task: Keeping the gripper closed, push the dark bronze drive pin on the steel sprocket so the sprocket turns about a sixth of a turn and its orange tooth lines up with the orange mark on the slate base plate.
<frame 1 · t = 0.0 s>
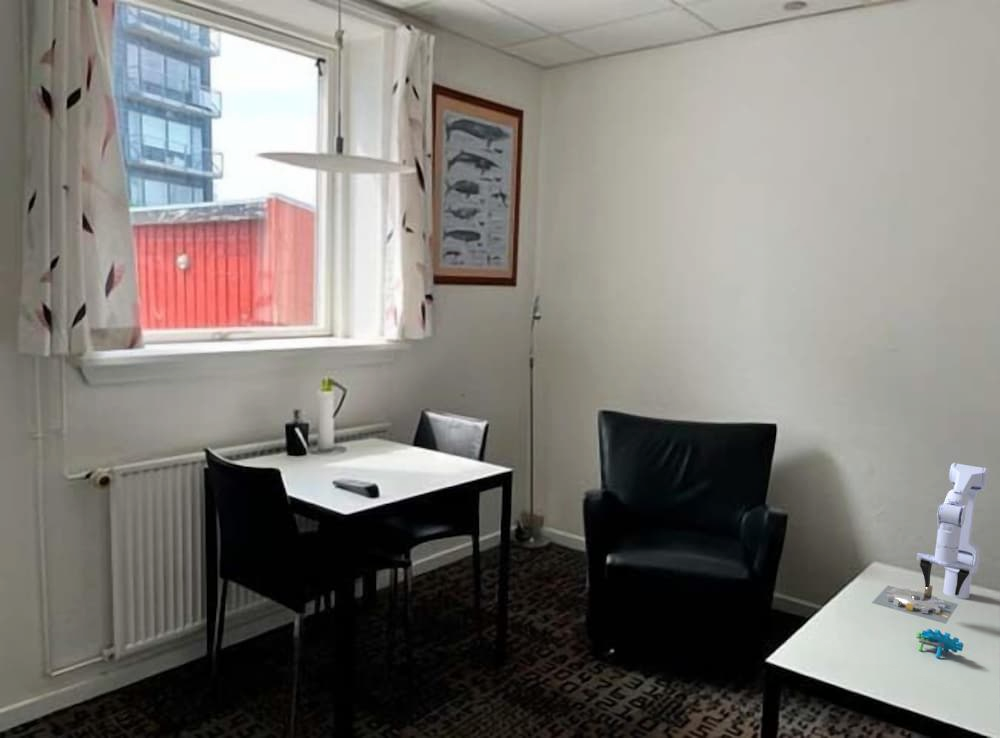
hand: (941, 590, 225), 10 cm above the table, tool pointing down, fingers open, 7 cm apart
blue toy dinosaur: (937, 654, 207), on the table
base plate: (914, 606, 238), on the table
sprocket: (915, 595, 237), point 4 cm above the table, hinge at 0.0°
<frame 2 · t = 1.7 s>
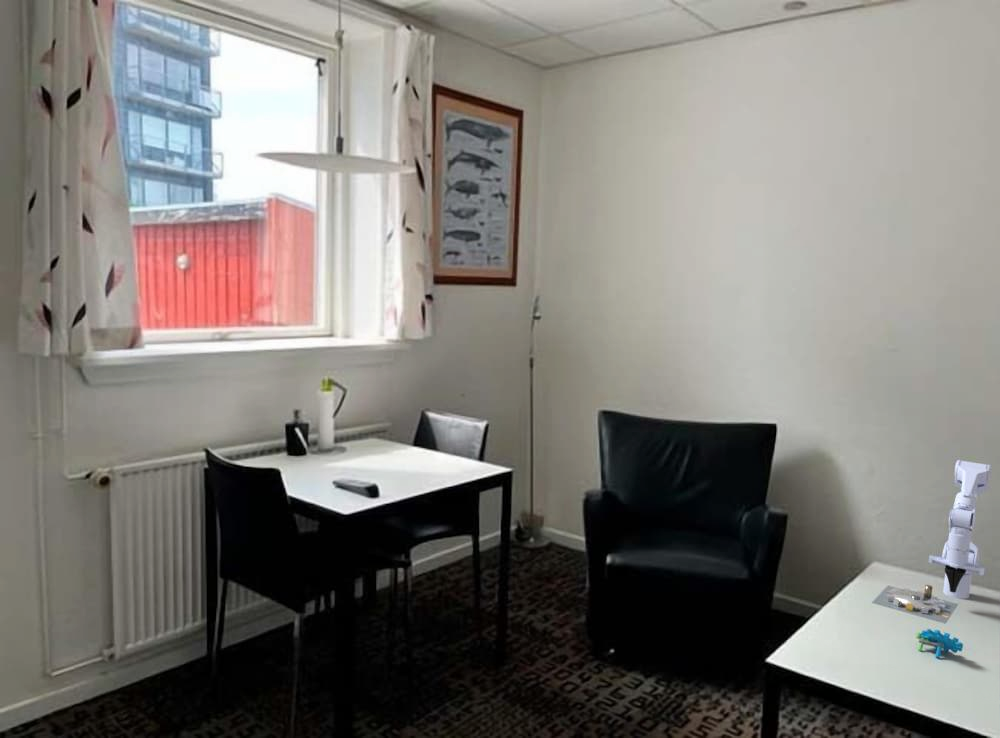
hand: (952, 591, 235), 6 cm above the table, tool pointing down, fingers closed
nothing on the table moved.
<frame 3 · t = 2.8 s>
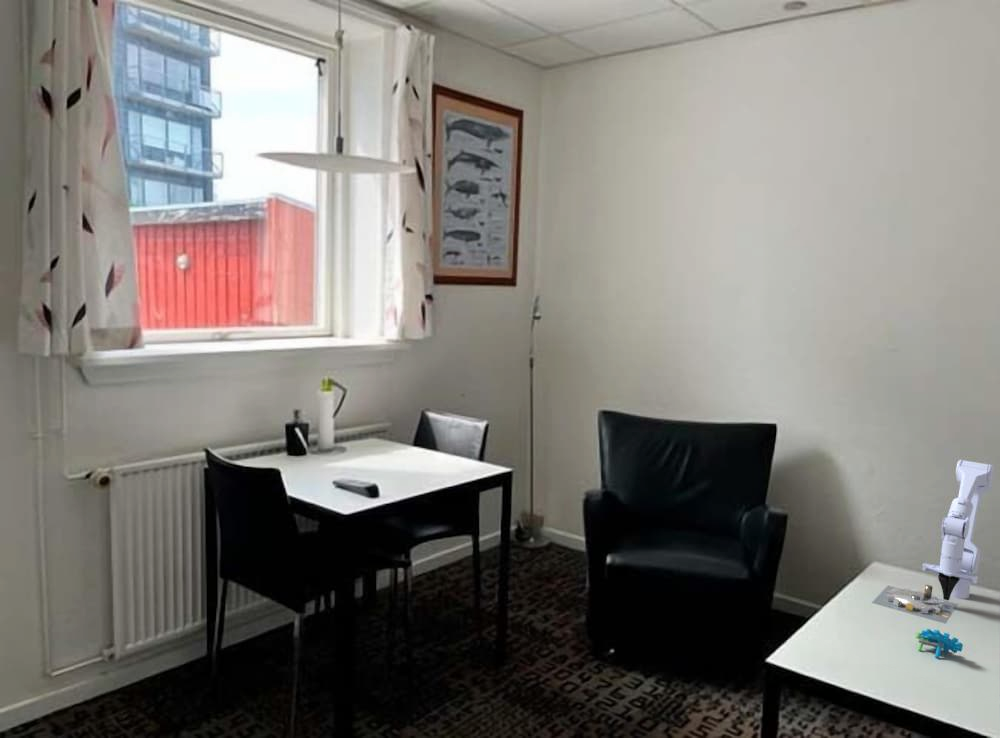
hand: (946, 599, 236), 3 cm above the table, tool pointing down, fingers closed
nothing on the table moved.
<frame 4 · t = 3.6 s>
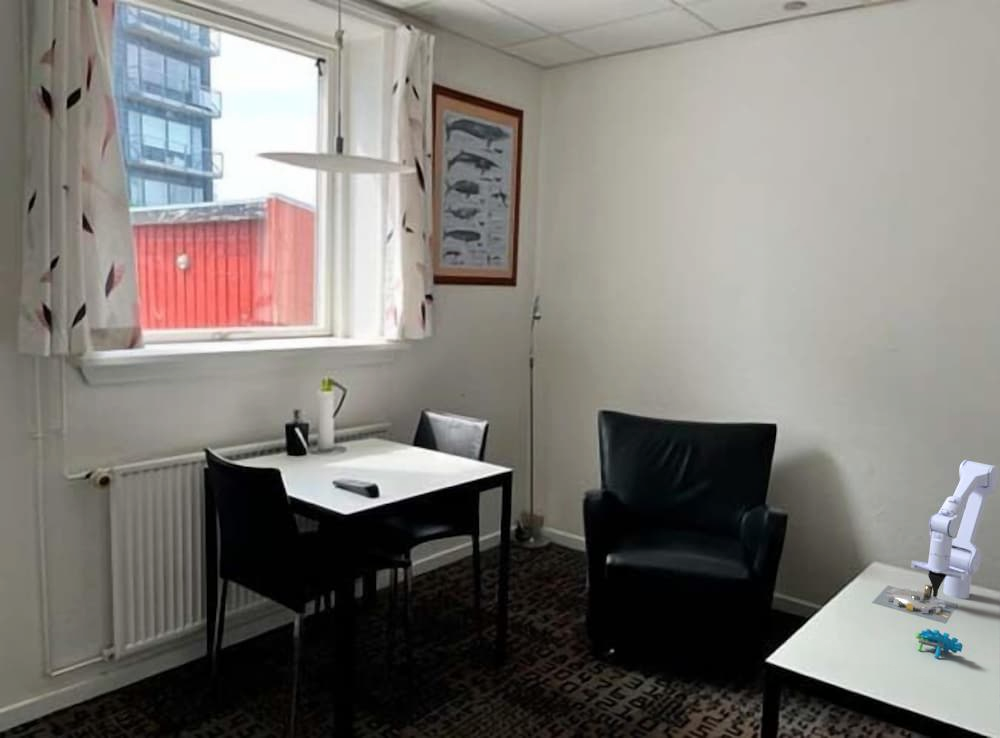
hand: (934, 595, 238), 3 cm above the table, tool pointing down, fingers closed, pressing on sprocket
sprocket: (915, 595, 237), point 4 cm above the table, hinge at 0.5°, touching gripper
everything else where it was.
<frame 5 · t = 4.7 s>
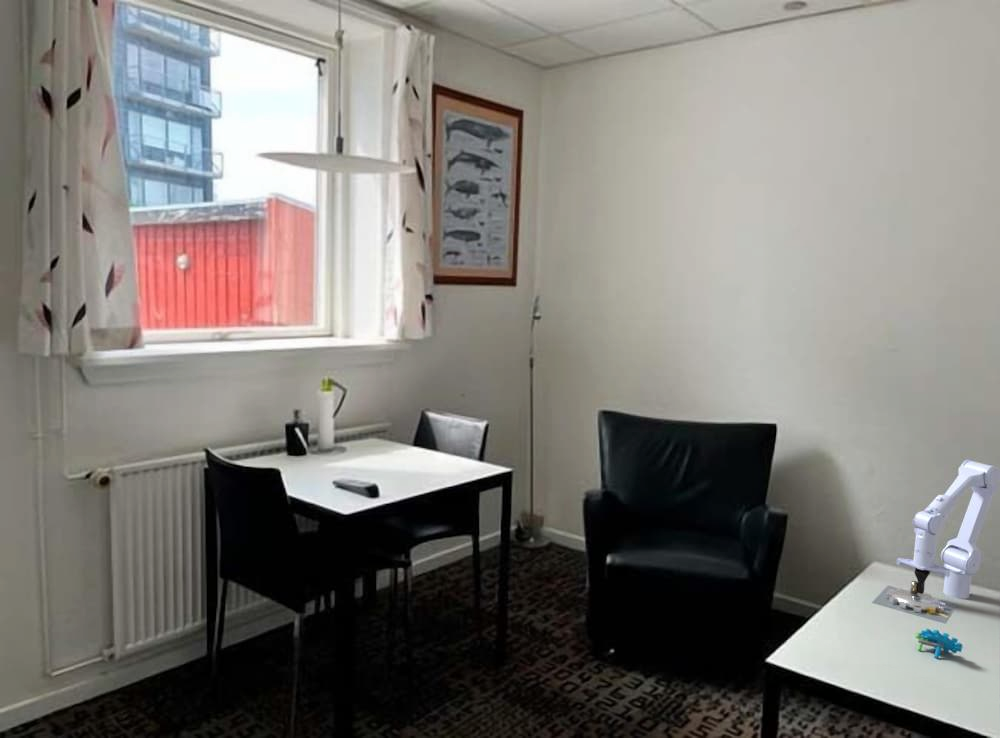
hand: (920, 592, 241), 3 cm above the table, tool pointing down, fingers closed, pressing on sprocket
sprocket: (915, 595, 237), point 4 cm above the table, hinge at 46.2°, touching gripper
everything else where it was.
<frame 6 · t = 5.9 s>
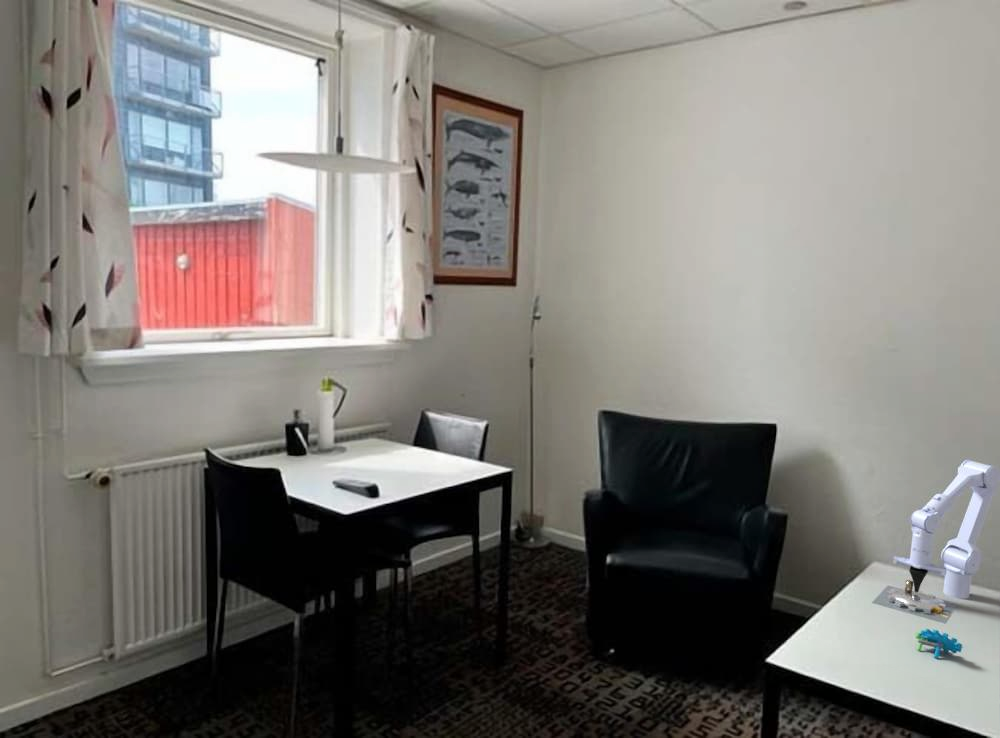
hand: (916, 591, 242), 3 cm above the table, tool pointing down, fingers closed
sprocket: (915, 595, 237), point 4 cm above the table, hinge at 64.8°, touching gripper
everything else where it was.
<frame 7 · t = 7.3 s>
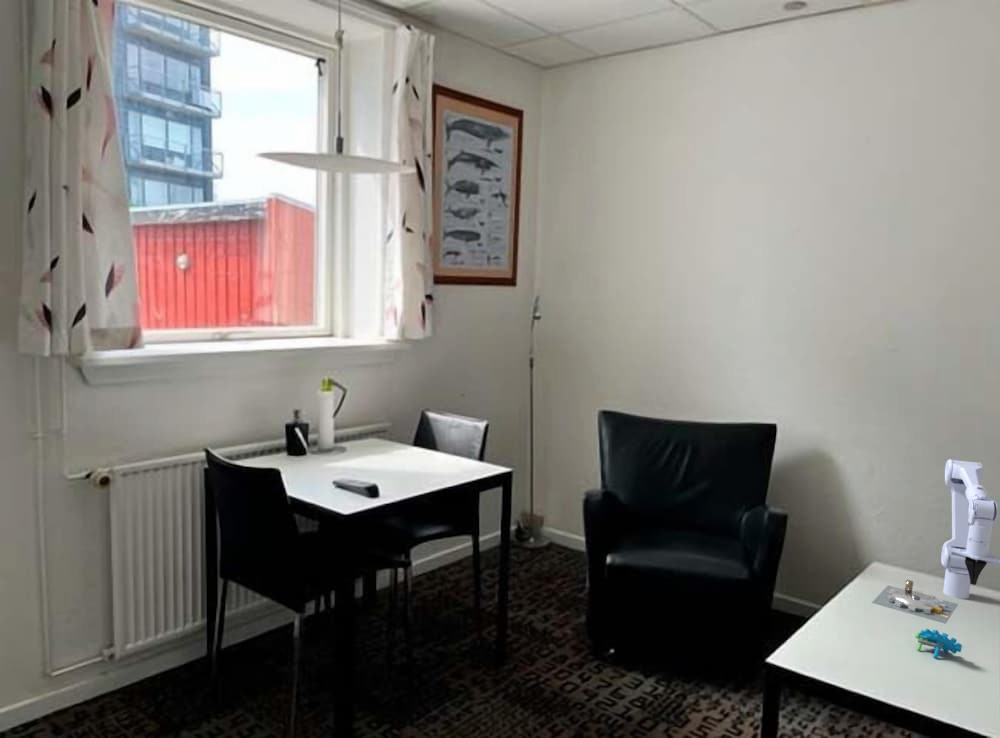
hand: (973, 583, 231), 10 cm above the table, tool pointing down, fingers closed
sprocket: (915, 595, 237), point 4 cm above the table, hinge at 64.9°
everything else where it was.
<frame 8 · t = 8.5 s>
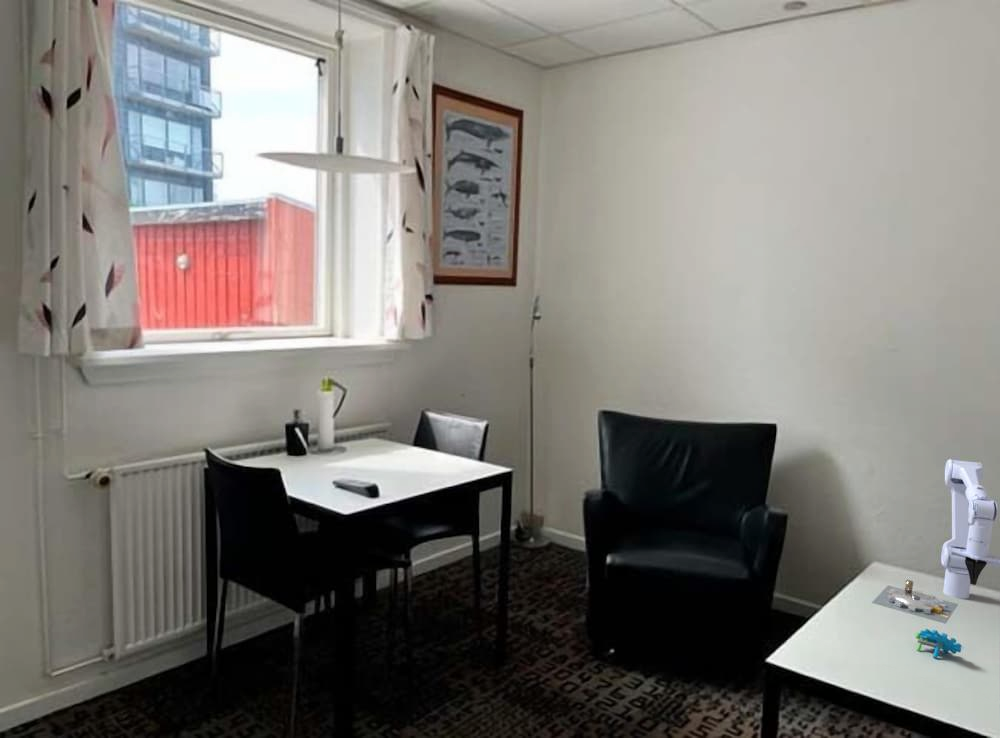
hand: (973, 583, 231), 10 cm above the table, tool pointing down, fingers closed
nothing on the table moved.
at the end: sprocket at +65° (first picture: +0°); blue toy dinosaur moved 0.8 cm from its start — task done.
